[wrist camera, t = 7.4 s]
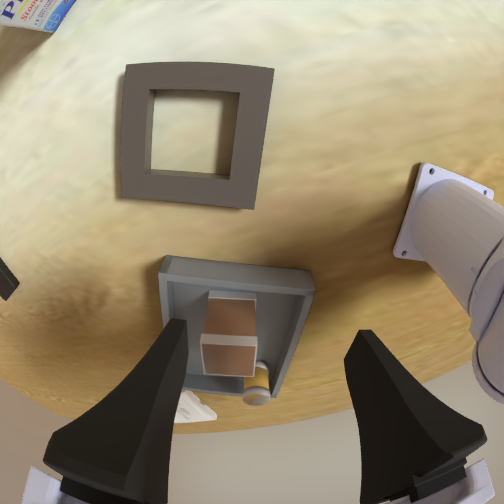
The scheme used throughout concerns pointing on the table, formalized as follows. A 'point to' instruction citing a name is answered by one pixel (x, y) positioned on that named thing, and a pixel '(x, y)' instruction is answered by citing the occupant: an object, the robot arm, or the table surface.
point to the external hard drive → (192, 409)
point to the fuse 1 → (230, 334)
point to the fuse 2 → (257, 386)
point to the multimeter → (7, 281)
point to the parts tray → (266, 315)
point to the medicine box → (34, 13)
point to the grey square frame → (181, 182)
